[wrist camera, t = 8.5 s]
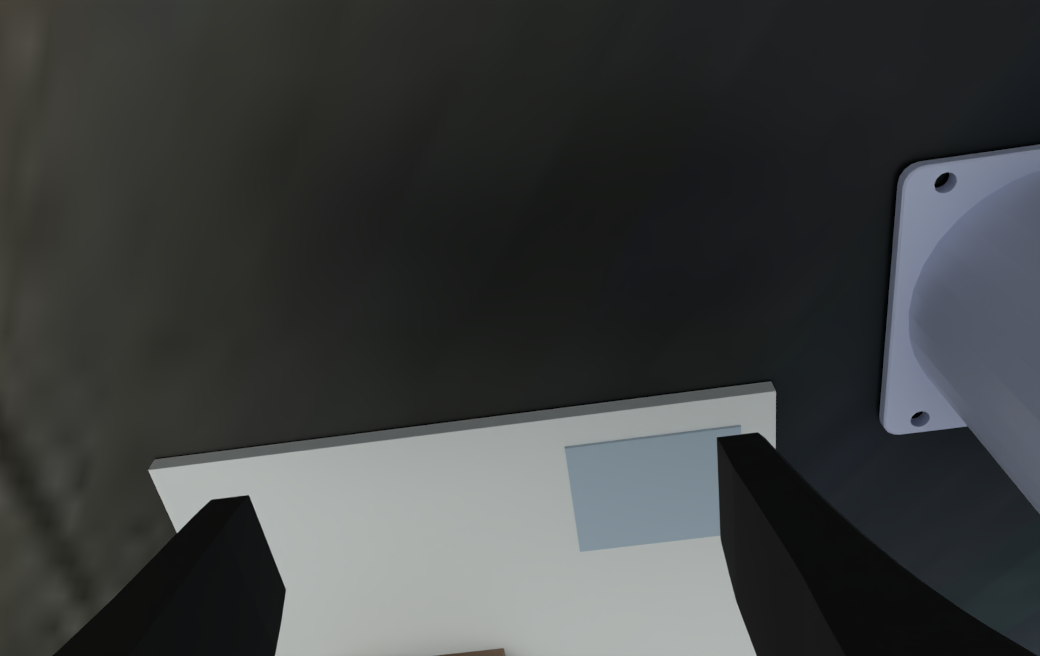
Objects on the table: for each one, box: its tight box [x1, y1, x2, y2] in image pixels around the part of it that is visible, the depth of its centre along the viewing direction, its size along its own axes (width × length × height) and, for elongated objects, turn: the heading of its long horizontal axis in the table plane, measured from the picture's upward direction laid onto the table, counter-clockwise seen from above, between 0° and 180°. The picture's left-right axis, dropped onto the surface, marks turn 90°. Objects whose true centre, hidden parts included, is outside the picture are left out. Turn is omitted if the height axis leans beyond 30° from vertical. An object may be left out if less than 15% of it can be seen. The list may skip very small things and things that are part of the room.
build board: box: [148, 381, 776, 656], centre depth 28 cm, size 18×16×1 cm
